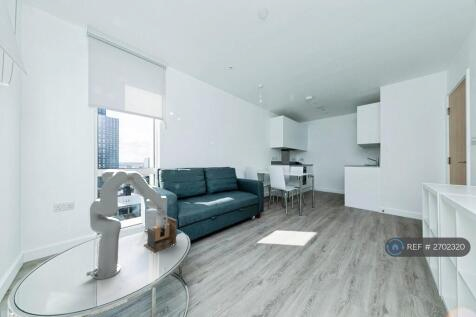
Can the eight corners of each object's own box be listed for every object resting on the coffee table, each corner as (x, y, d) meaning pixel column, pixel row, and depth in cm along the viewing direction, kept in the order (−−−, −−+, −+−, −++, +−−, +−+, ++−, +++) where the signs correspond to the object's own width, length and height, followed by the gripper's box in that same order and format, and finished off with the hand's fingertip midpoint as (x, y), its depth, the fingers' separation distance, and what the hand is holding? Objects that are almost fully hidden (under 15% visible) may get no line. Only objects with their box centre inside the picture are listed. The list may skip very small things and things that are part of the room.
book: (154, 241, 134) (155, 228, 134) (152, 240, 136) (152, 227, 136) (169, 236, 143) (169, 224, 143) (166, 235, 145) (167, 222, 146)
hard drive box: (164, 229, 169) (165, 208, 169) (160, 233, 161) (161, 211, 162) (149, 228, 171) (150, 208, 171) (144, 231, 163) (145, 210, 163)
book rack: (154, 252, 127) (155, 226, 127) (143, 245, 137) (144, 220, 137) (176, 244, 141) (177, 220, 142) (165, 238, 151) (166, 215, 152)
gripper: (171, 213, 137) (171, 237, 137) (160, 209, 148) (160, 231, 148) (162, 215, 132) (161, 240, 131) (151, 211, 142) (151, 234, 142)
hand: (160, 235), depth 139 cm, fingers closed on book, 4 cm apart
